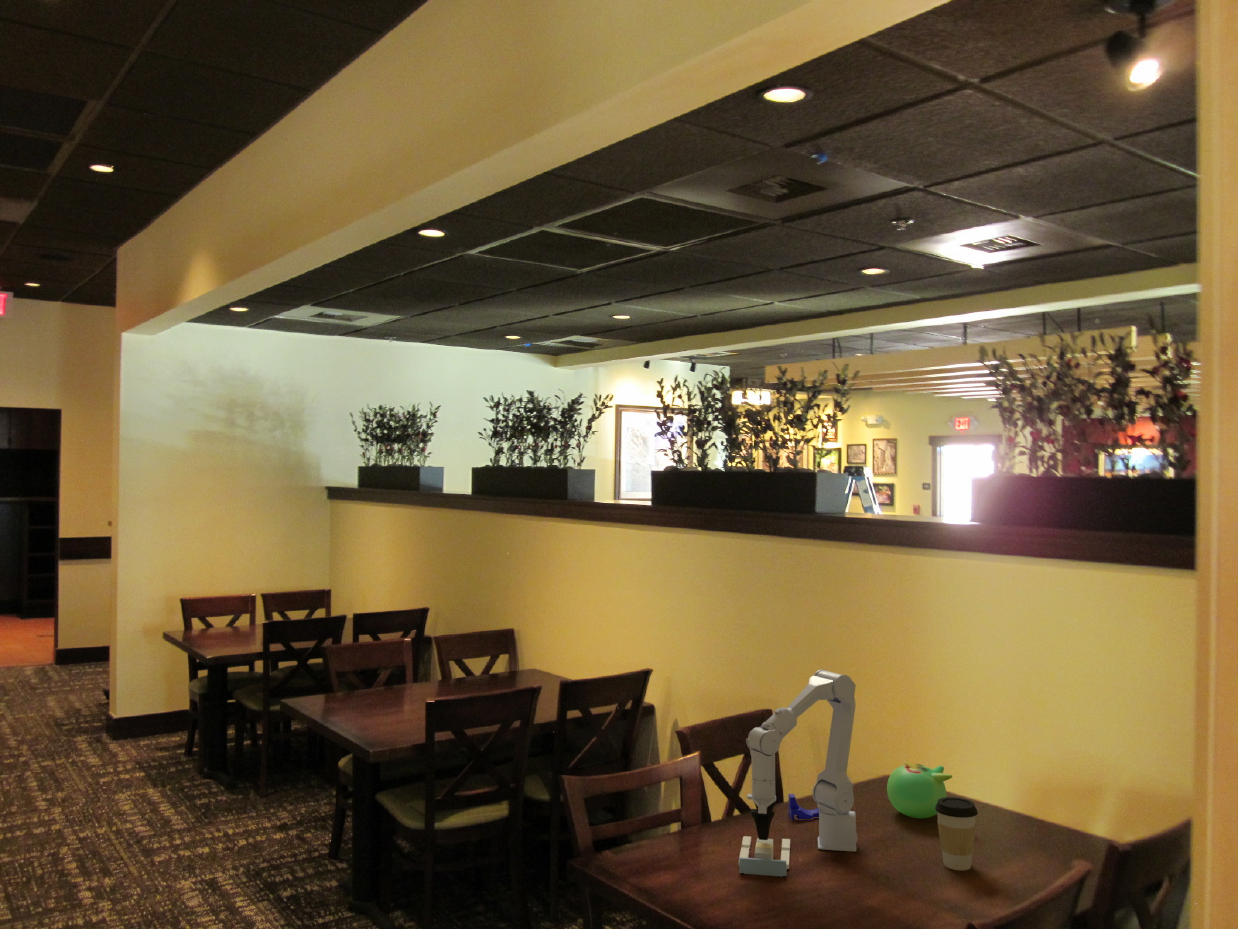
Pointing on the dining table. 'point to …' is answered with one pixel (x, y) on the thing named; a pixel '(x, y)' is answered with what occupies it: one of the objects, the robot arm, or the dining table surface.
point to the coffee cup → (956, 831)
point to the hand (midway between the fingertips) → (764, 834)
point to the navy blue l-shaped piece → (800, 810)
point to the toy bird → (917, 789)
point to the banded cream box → (764, 849)
